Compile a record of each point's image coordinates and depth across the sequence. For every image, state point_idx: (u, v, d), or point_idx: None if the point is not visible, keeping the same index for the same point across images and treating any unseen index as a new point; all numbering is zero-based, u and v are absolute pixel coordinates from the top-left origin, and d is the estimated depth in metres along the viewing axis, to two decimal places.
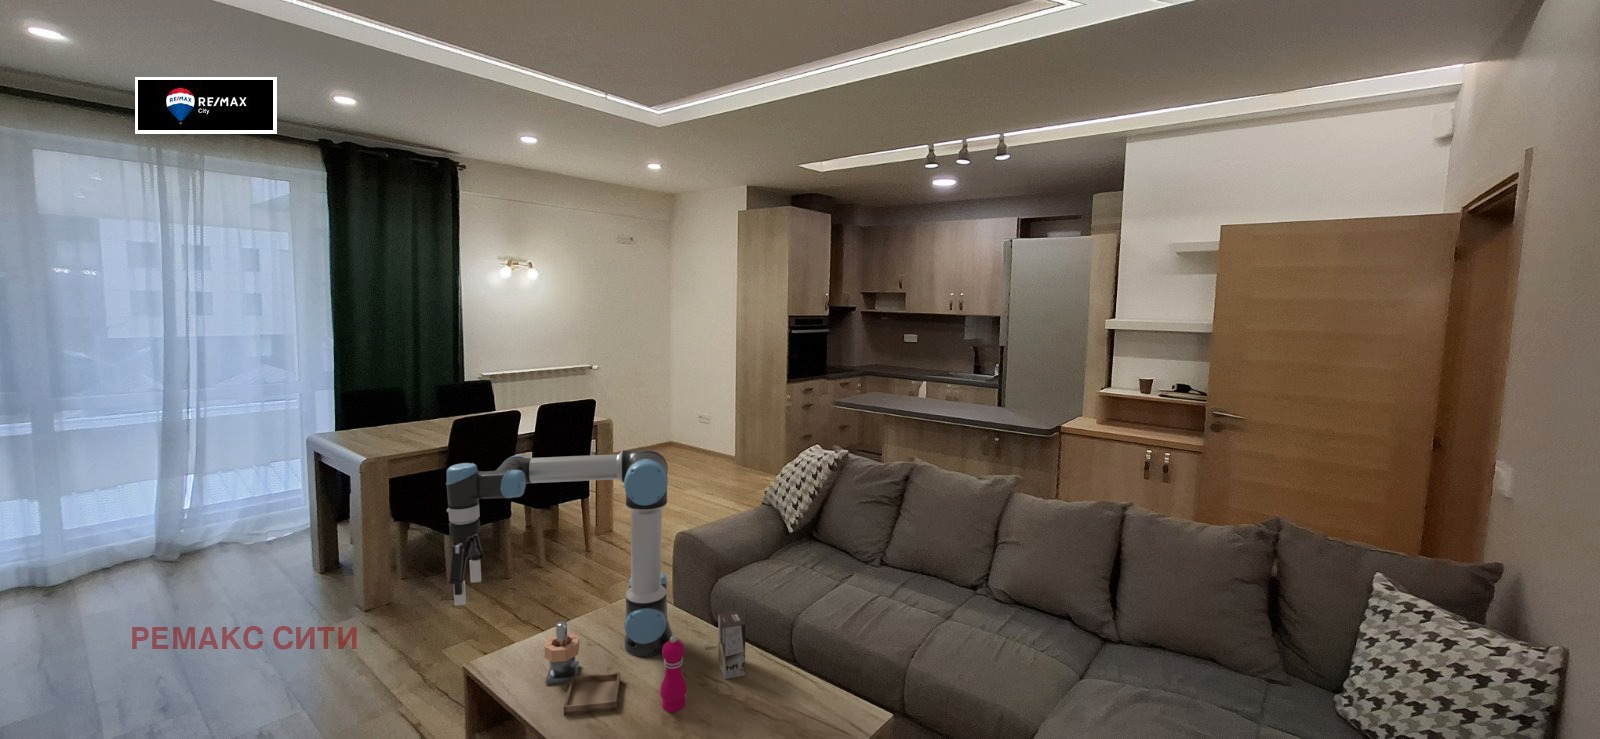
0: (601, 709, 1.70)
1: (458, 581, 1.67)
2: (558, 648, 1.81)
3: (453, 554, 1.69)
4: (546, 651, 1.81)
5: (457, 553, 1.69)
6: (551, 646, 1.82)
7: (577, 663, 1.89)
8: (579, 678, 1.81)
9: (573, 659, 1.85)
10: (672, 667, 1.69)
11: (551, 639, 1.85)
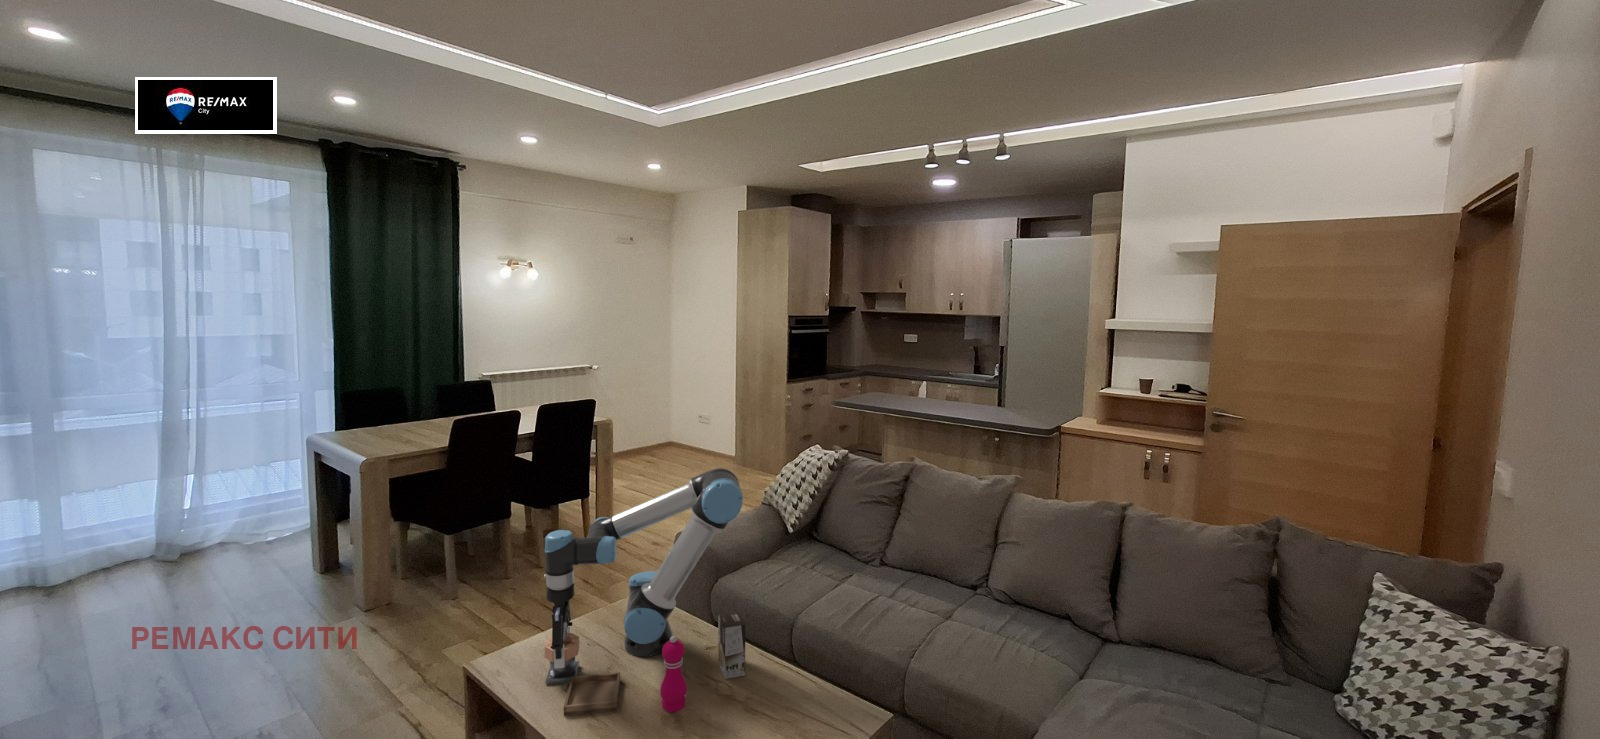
0: (601, 709, 1.70)
1: (560, 647, 1.76)
2: None
3: (553, 622, 1.77)
4: (546, 651, 1.81)
5: (556, 621, 1.77)
6: None
7: (577, 663, 1.89)
8: (579, 678, 1.81)
9: (573, 659, 1.85)
10: (672, 667, 1.69)
11: (551, 639, 1.85)
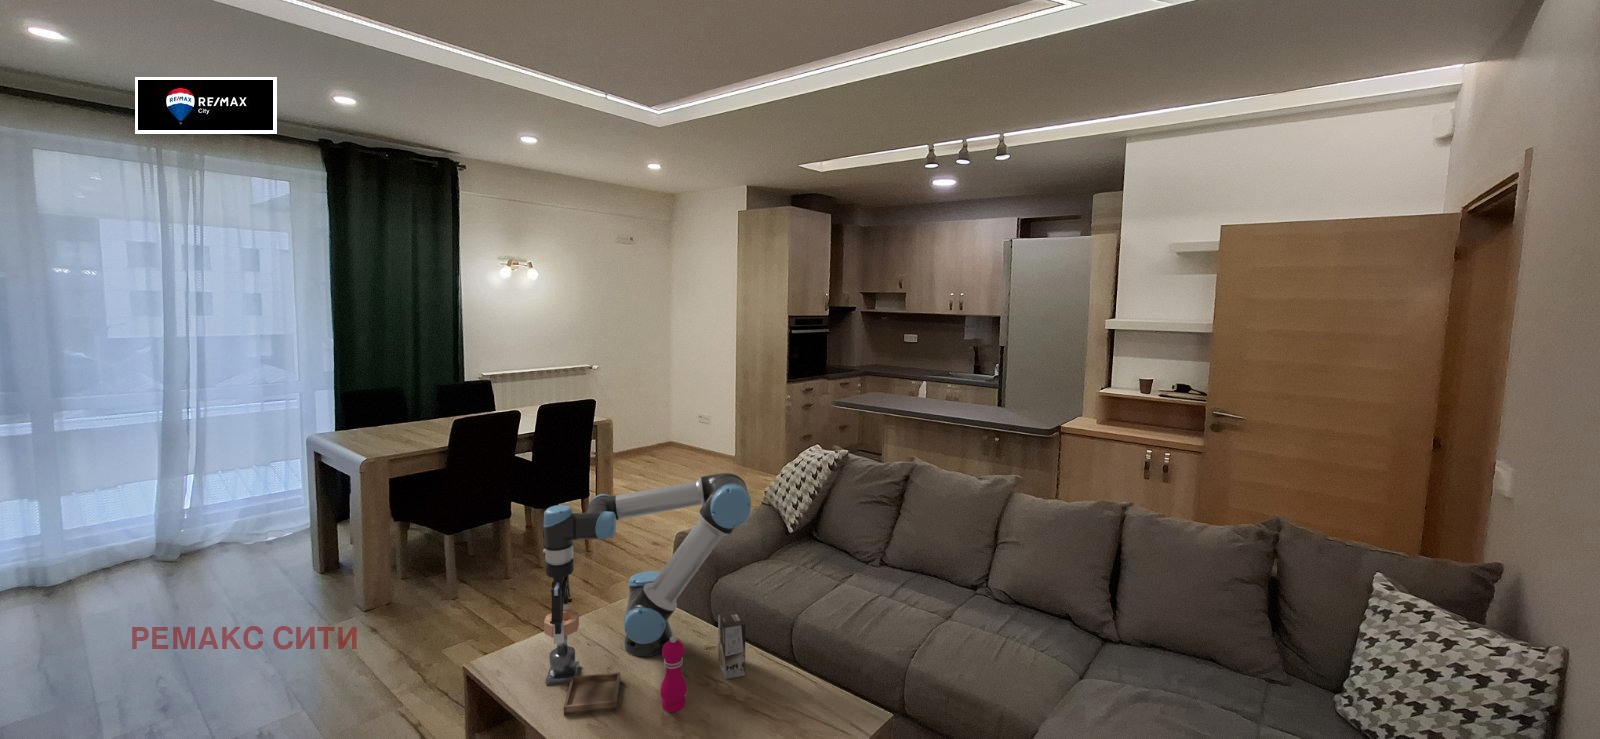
0: (601, 709, 1.70)
1: (559, 621, 1.75)
2: None
3: (552, 597, 1.76)
4: (545, 627, 1.81)
5: (556, 595, 1.76)
6: None
7: (577, 663, 1.89)
8: (579, 678, 1.81)
9: (573, 659, 1.85)
10: (672, 667, 1.69)
11: (551, 615, 1.84)
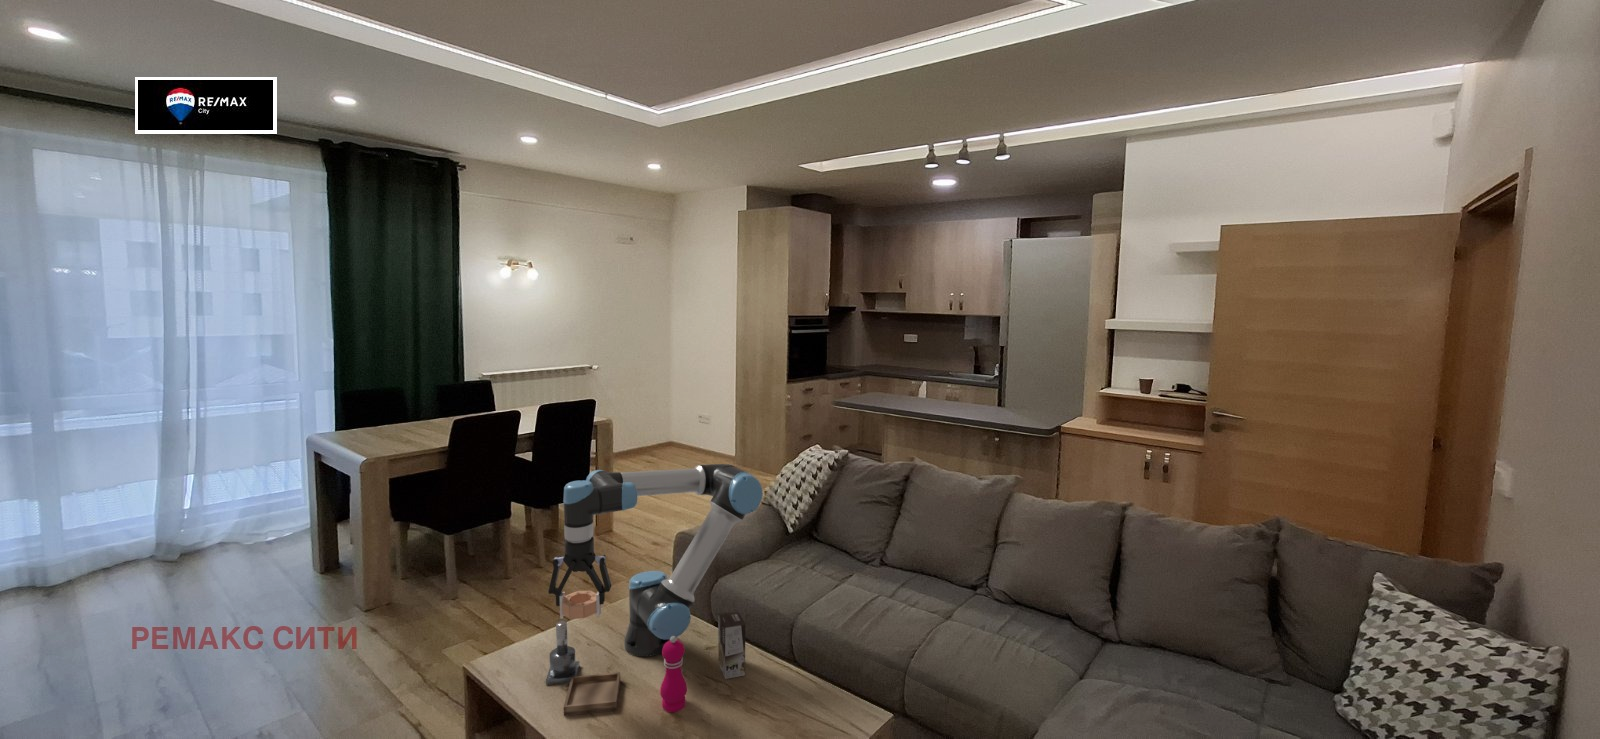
0: (601, 709, 1.70)
1: None
2: (567, 598, 1.75)
3: None
4: None
5: None
6: (574, 594, 1.77)
7: (577, 663, 1.89)
8: (579, 678, 1.81)
9: (573, 659, 1.85)
10: (672, 667, 1.69)
11: (588, 592, 1.79)
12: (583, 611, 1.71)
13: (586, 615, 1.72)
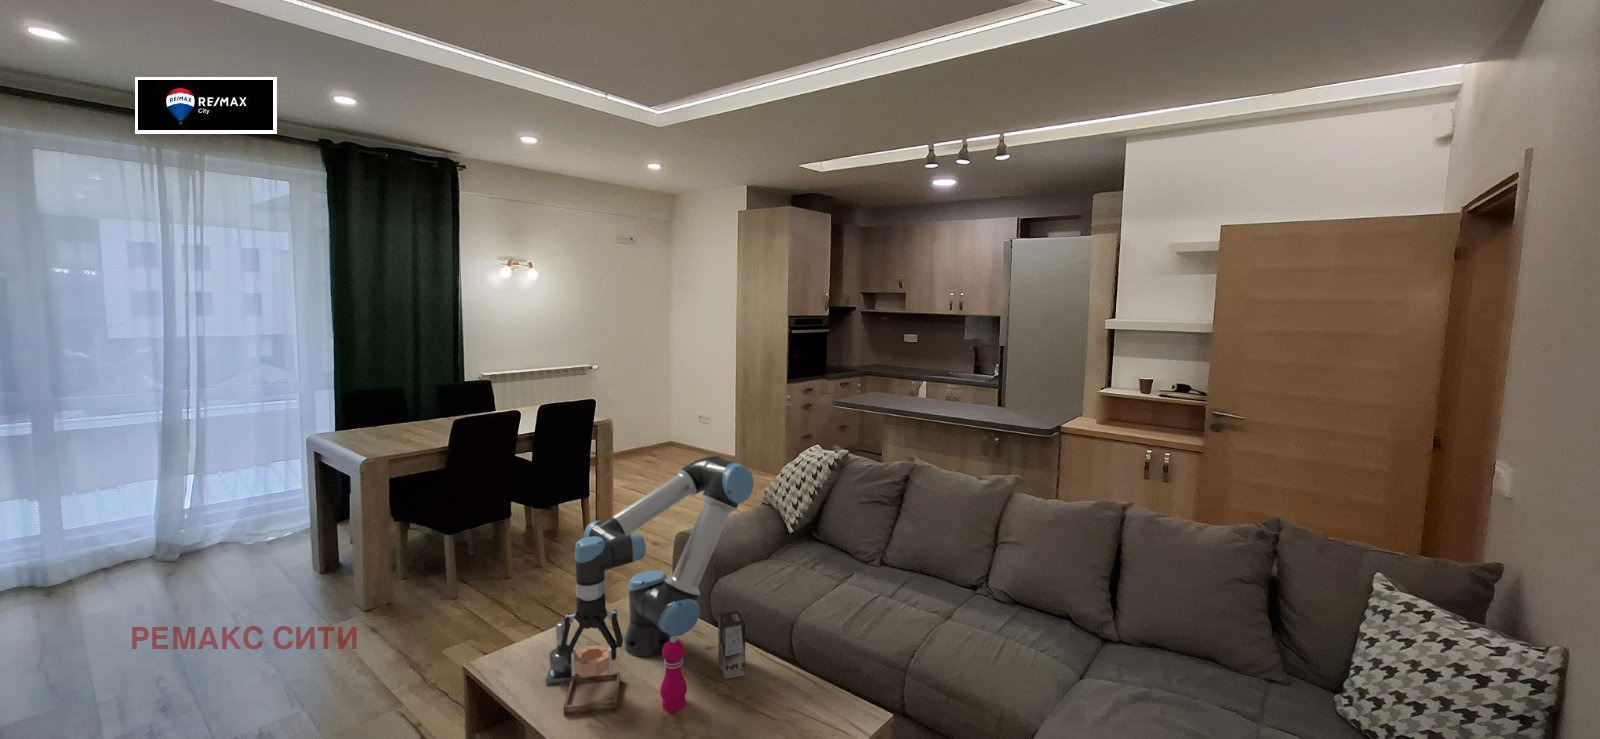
0: (601, 709, 1.70)
1: (560, 648, 1.72)
2: (578, 655, 1.74)
3: None
4: None
5: None
6: (584, 650, 1.76)
7: None
8: (579, 678, 1.81)
9: None
10: (672, 667, 1.69)
11: (599, 647, 1.78)
12: (596, 668, 1.71)
13: (599, 672, 1.71)
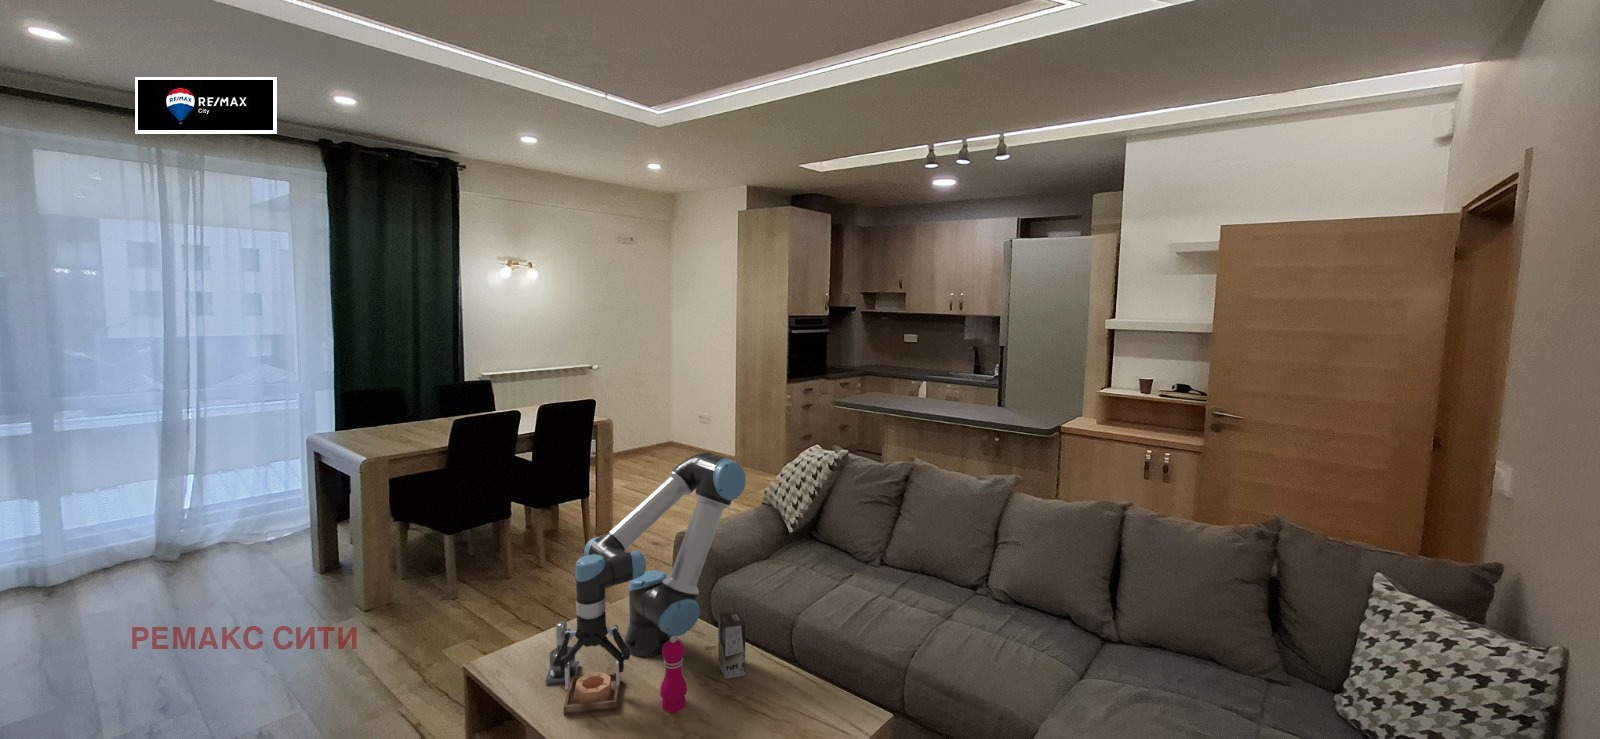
0: (601, 709, 1.70)
1: (553, 663, 1.72)
2: (579, 682, 1.75)
3: None
4: None
5: None
6: (585, 677, 1.77)
7: (577, 663, 1.89)
8: None
9: (573, 659, 1.85)
10: (672, 667, 1.69)
11: (600, 674, 1.79)
12: (597, 696, 1.72)
13: (600, 700, 1.72)
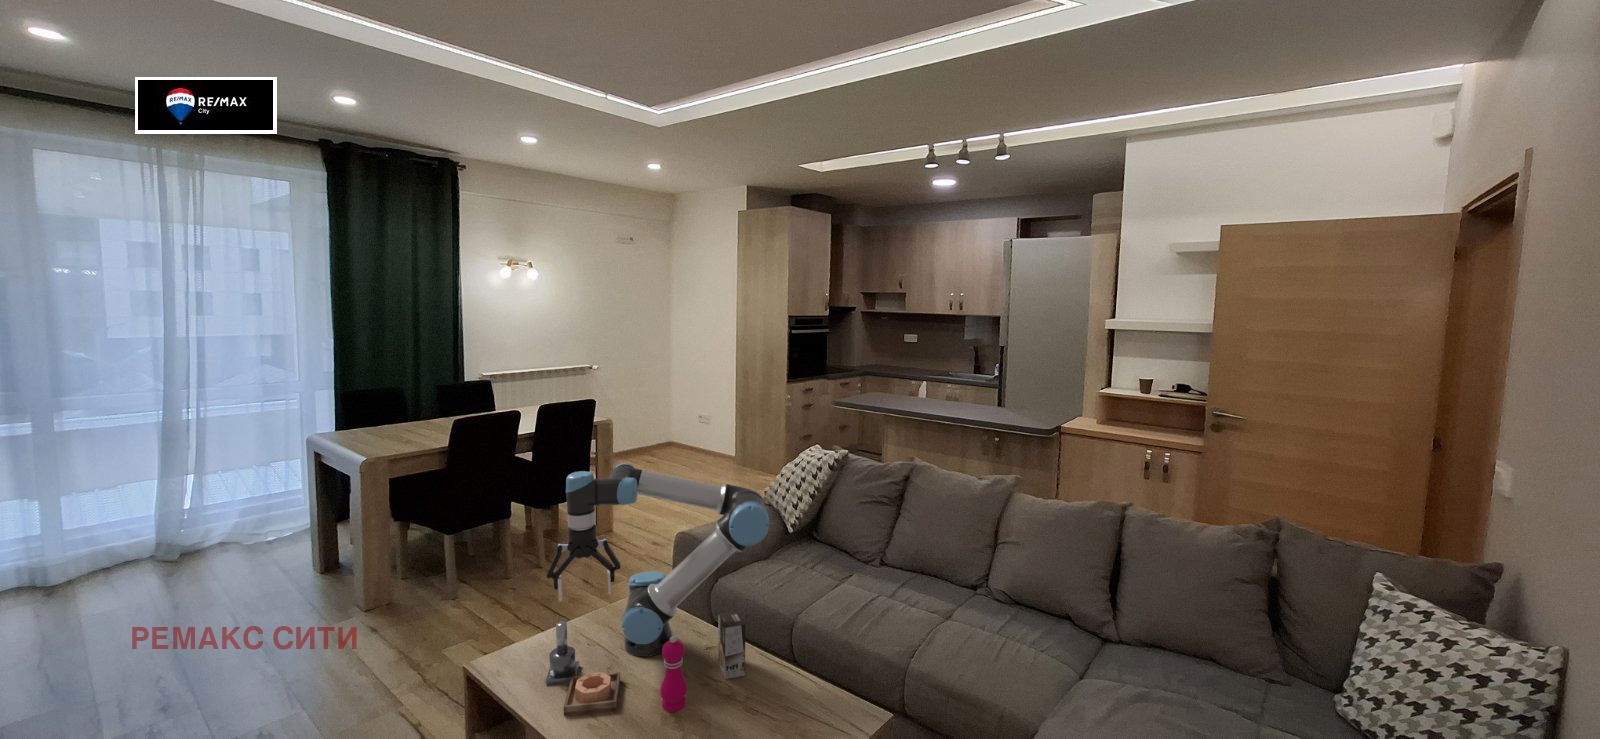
0: (601, 709, 1.70)
1: None
2: (579, 682, 1.75)
3: None
4: None
5: None
6: (585, 677, 1.77)
7: (577, 663, 1.89)
8: None
9: (573, 659, 1.85)
10: (672, 667, 1.69)
11: (600, 674, 1.79)
12: (597, 696, 1.72)
13: (600, 700, 1.72)
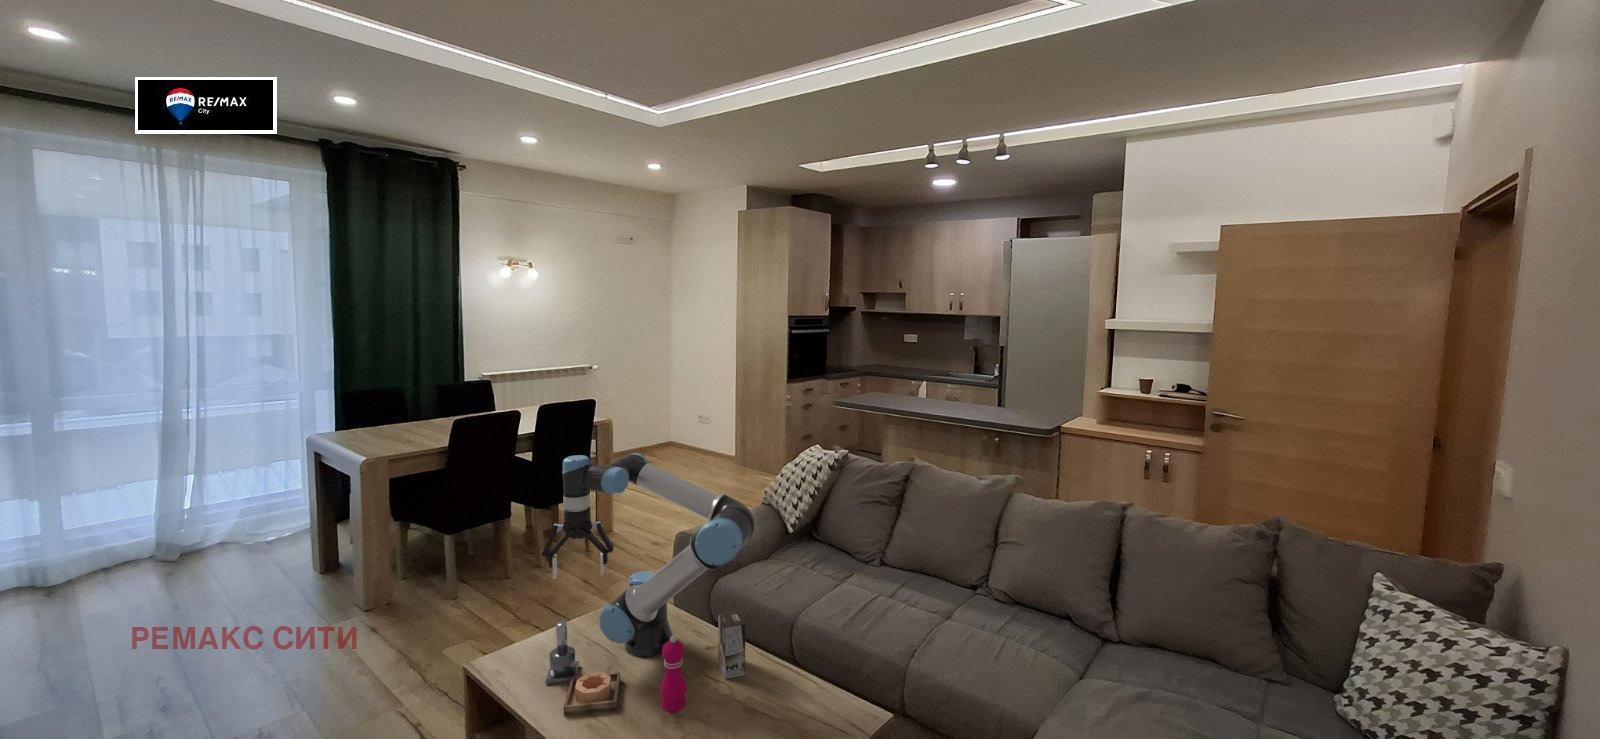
0: (601, 709, 1.70)
1: (542, 553, 1.87)
2: (579, 682, 1.75)
3: None
4: None
5: None
6: (585, 677, 1.77)
7: (577, 663, 1.89)
8: None
9: (573, 659, 1.85)
10: (672, 667, 1.69)
11: (600, 674, 1.79)
12: (597, 696, 1.72)
13: (600, 700, 1.72)
